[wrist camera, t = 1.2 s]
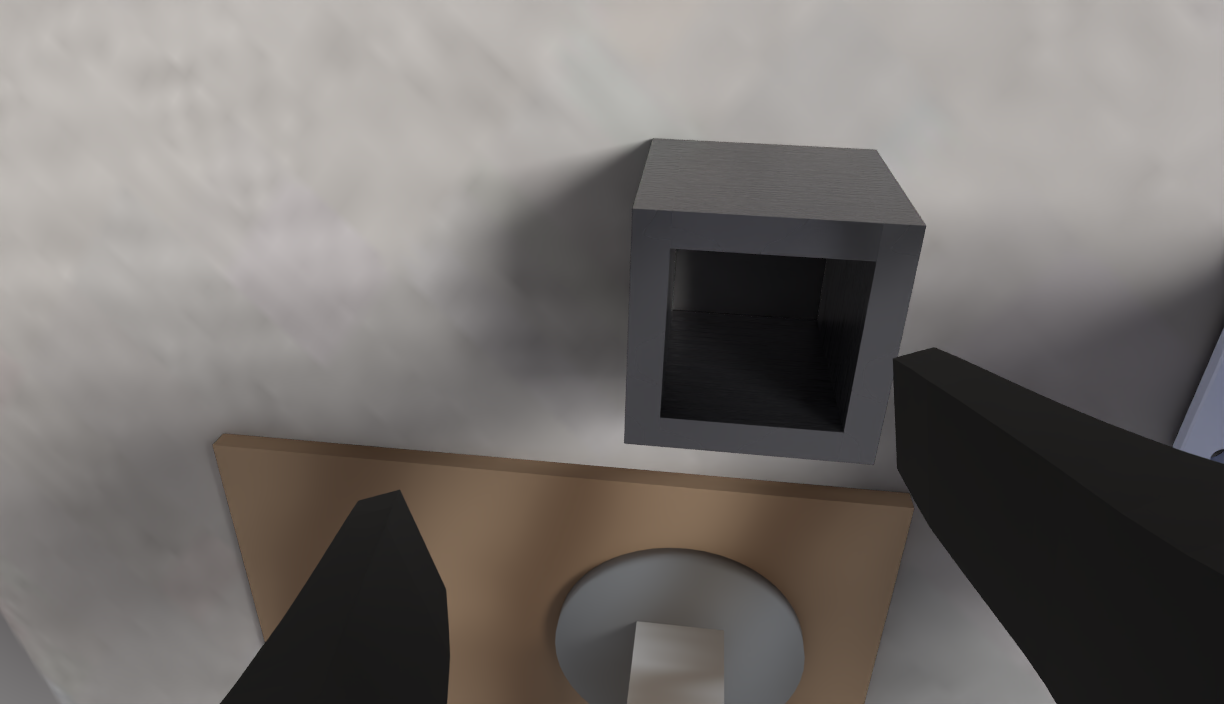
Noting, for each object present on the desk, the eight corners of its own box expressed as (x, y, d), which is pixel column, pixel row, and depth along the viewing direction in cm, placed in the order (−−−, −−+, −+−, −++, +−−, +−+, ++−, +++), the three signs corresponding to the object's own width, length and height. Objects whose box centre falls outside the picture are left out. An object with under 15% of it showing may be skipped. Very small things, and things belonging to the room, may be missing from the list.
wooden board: (905, 480, 23) (949, 618, 18) (839, 751, 29) (860, 905, 24) (233, 422, 25) (127, 534, 20) (299, 687, 31) (227, 820, 26)
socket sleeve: (876, 149, 18) (926, 225, 14) (840, 346, 20) (874, 465, 16) (652, 138, 19) (632, 208, 14) (643, 332, 21) (624, 443, 17)
